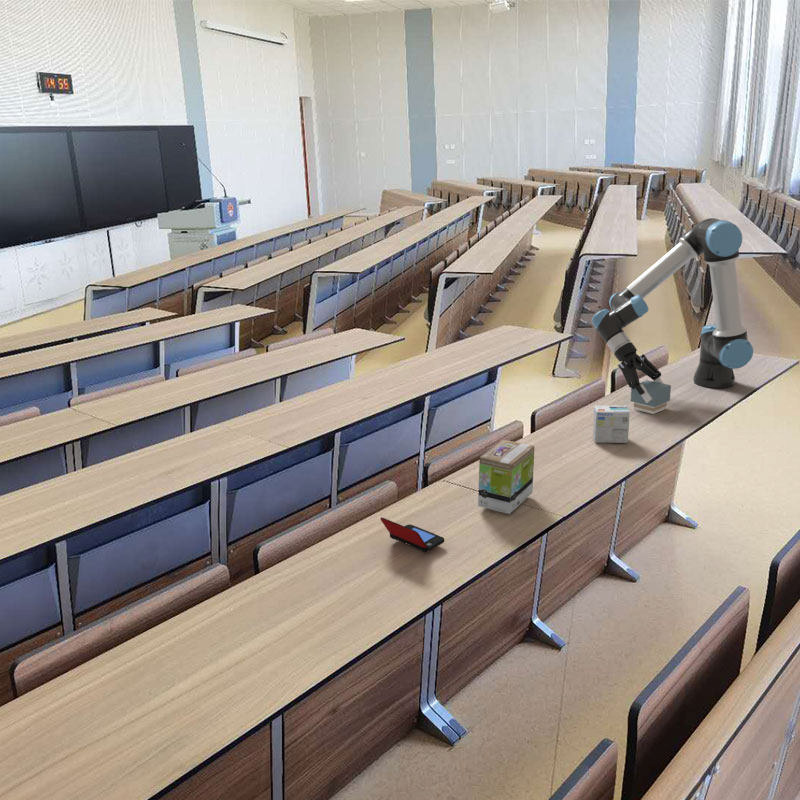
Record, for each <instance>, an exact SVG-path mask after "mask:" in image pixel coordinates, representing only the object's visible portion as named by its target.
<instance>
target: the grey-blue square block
mask: <svg viewBox="0 0 800 800" xmlns="http://www.w3.org/2000/svg"><path fill="white" fill-rule="evenodd" d="M663 383H664V382H663ZM663 383H658V382H654V380H649V379H646V380H643V381H641V382H640V385H641V384H643V386H644V387H645V388H646V390H647V391H648V393H649V394H650V396H651V397H652V398H653V399H652V400H651V401H649V402H648V403H646V402H645V400H644V399H643V398H642V396H641V395H640V394H639V393H638V391H637V390H636V388H635V389H632V388H630V402H632V403H634V402H636V403H640V404H644V405H648V406H652V407H656V406H658V405H661V404H663V403H668V402H670V401H671V390H672V385H671V384H666V383H664V384H663Z"/></svg>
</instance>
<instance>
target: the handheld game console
mask: <svg viewBox="0 0 800 800" xmlns="http://www.w3.org/2000/svg"><path fill="white" fill-rule="evenodd" d="M380 521H381V523H382V525H384V527H385V528H386V530H387V532H388V533H389V538H391V539H393V540H395V541H397V542H399V543H402V544H405V543H407V544H406V545H408V544H409V545H408V546H410V545H411V546H410V547H412V548H414V549H415V550H419V551H421V552H422V553H426V554H428V553H429V552H430V551H432V550H434V549H435V548H437V547H438V546H441V545H443V544H444V543H445V537H443V536H440V535H438V534H436V533H433V532H431V531H429V530H426V529H423V528H421V527H419V526H416V525H413V524H405V525H402V524H400V523H397V522H394V521H392V520H390V519H387V518H385V517H380Z"/></svg>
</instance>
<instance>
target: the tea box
mask: <svg viewBox="0 0 800 800" xmlns="http://www.w3.org/2000/svg"><path fill="white" fill-rule="evenodd" d="M478 461H479V467H478V497H477V499H478V500H477V506H478V507H480V508H481V507H482V508H483V509H488V510H492V511H496V512H499V513H504V514H507V515H510V514H511V513H512V512H513V511H514V510H516V508H518V507H519V506H520V505H522V503H524V501H525V500H526V499H527V498H529V497H530V496H531V495H532V494H533V488H534V487H533V485H534V466H535V462H534V461H535V445H531V444H527V443H522V442H517V441H512V440H507V439H501V440H500V441H499V442H498V443H496V444H495V445H494V446H492V447H491V448H490V449H488V450H487V451H486V452H484V453H483V454H482V455H481V456H479V460H478Z"/></svg>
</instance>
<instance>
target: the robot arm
mask: <svg viewBox="0 0 800 800" xmlns="http://www.w3.org/2000/svg"><path fill="white" fill-rule="evenodd" d="M742 243H743V233H742V231H741V228H740V227H739V226H737V225H736V224H735V223H734V222H731V221H728V220H724V219H723V220H721V219H718V218H713V217H711V218H710V217H709V218H705V219H703V220H700V221H699V222H698V223H696V224H695V225H694V226H693V227H691V228H690V229H689V230H688V231H687V232H685V233H684V234H683V235H682V236H681V237H680V238H679V240H678V243H677V244H675V246H673V247H672V248H671V249H670V250H668V252H666V253H665V254H664V255H663V256H661V257H660V258H659V259H658V260H657V261H656V262H655V263H653V264H652V265H650V267H649V268H648V269H645V271H644V272H643V273H642V274H640V275H639V276H638V277H637V278H636V279H635V280H633V282H631V283H630V284H629V285H628V286H627V287H625V288H623V289H622V290H621V291H620V292H619V291H618V292H615V293H614V294H612V295H611V296H610V297H609V300H608V303H609V307H610V309H611V311H610V310H609V309H608V308H604V309H602V310H599V311H598V312H596V313H595V314H594V315H593V316H592V318H591V323H592V325H593V326H594V329H596V331H597V332H598V334H599V335H600V337H601V338H602V339H603V341H604V342H605V344H606V345H607V346H608V348H609V349H610V351H611V352H612V353H614V356H615V358H616V359H617V360H618V361H619V364H617V367H618V368H619V369H620V370H621V372H622V374H623V377H624V379H625V382H626V383H627V385H628V387H629V388H630V389H631V388H632V389H635V388H636V390H637V391H638V393H639V394H640V395H641V396H642V398H643V399H644V400H645V402H646V403H648V402H649V401H651V400H652V399H653V398H652V397H651V396H650V394H649V393H648V391H647V390H646V388H645V387H644V386H643V384H641V385H640V383H641V382H640V378H639V375H638V371H641V372H642V373H644V375H645V376H647V377H648V378H650V379H651V381H654V382H658V383H663V384H665V383H664V382H663V380H662V379H661V378H660V377H661V376H662V372H661V371H660V370H659V369H658V368H657V367H656V366H655V365H654V364H653V363H652V362H651V361H650V360H649V359H648V358H647V357H646V355H645V354H643V353H642V355H639V354H637V348H636V346H635V345H634V344H633V342H631V339H630V337H629V336H628V335H627V333H626V332H625V331H624V330H623V329H624V328H626V327H627V326H629V325H630V324H632V323H633V322H635V321H637V320H638V319H640V318H642V317H643V316H644V315H645V314H647V313H648V312H649V306H648V305H647V303H646V301H645V298H646V297H647V296H648V295H650V294H651V293H652V292H653V291H655V290H656V289H657V288H658V287H659V286H660V285H662V284H663V283H664V282H665V281H667V280H668V279H669V278H670V277H671V276H673V275H674V274H675V273H677V272H678V270H679V269H681V268H682V267H683V266H685V265H686V264H687V263H688V262H689V261H690V260H692V259H693V258H695V259H696V258H698V257H699V256H701V255H703V261H704V263H705V264H707V265H708V266H709V274H710V275H709V276H710V283H711V290H712V291H711V293H712V301H713V310H714V317H715V318H714V319H715V324H707V325H704V326H703V327H702V328H701V333H700V337H701V338H700V348H699V349H700V350H699V363H698V366H697V367H696V370H695V373H694V375H693V381H694V382H693V384H696V385H698V386H701V387H705V388H713V389H714V388H716V389H719V388H721V389H723V388H730V387H733V386H734V385H735V383H736V377H735V373H734V370H735V369H737V370H738V369H740V368H743V367H745V366H747V364H748V363H750V362H751V360H752V359H753V355H754V346H753V345H752V343H751V342H750V341H749V339H748V331H747V328H746V327H745V326H744V325H742V317H741V316H742V315H741V307H740V297H739V288H738V287H739V285H738V277H737V266H736V261H737V259H739V258H740V248H741V246H742ZM637 370H638V371H637Z"/></svg>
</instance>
